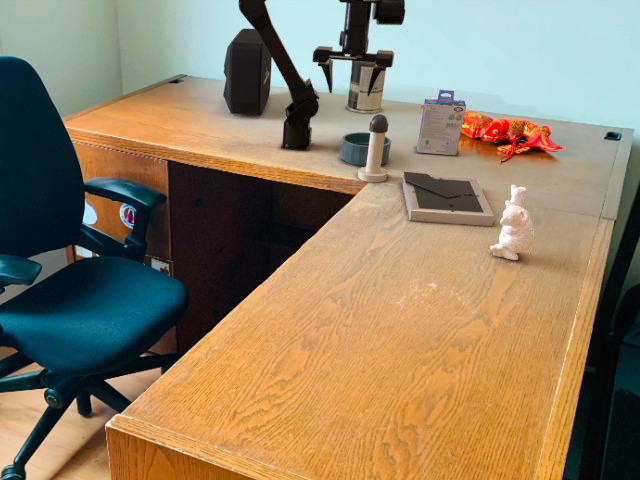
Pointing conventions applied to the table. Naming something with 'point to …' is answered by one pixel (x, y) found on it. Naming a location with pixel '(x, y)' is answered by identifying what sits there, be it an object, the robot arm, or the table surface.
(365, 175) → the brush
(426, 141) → the ink cartridge box
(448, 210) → the picture frame
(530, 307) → the table surface
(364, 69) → the coffee can
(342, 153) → the bowl
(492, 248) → the white animal figurine
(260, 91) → the black hard case
